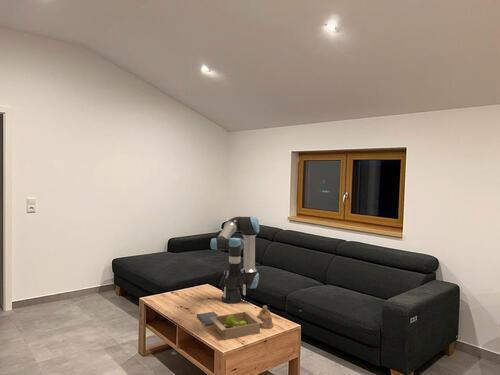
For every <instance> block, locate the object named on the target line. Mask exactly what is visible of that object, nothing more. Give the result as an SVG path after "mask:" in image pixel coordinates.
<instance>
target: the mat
mask: <svg viewBox="0 0 500 375" xmlns="http://www.w3.org/2000/svg"><path fill="white" fill-rule="evenodd" d="M216 316H218V315H217V313H216V312H214V311H210V312H203V313H197V314H196V318H198V319H199V320H200V322H201V323H202V324H203V325H204V327H210V326H212V327H213V321H212V320H211V319H210V317H216Z"/></svg>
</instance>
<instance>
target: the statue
mask: <svg viewBox="0 0 500 375" xmlns="http://www.w3.org/2000/svg"><path fill="white" fill-rule="evenodd" d="M256 317H257V318H258V319H260V320H261V321H262V322H263V323H261V324H260V329H265V330H269V329H273V328H274V327H275V326H274V322H273V319H272V318H273V317H272V314H271V312H270V310H269V309H268V306H267V305H265V304H264V305H262V309H261V310H260V311H259V314H258V315H256Z"/></svg>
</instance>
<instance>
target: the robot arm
mask: <svg viewBox="0 0 500 375" xmlns="http://www.w3.org/2000/svg"><path fill="white" fill-rule="evenodd" d="M258 219H259V218H257V217H255V216H235V217H232V218H230V219H228V220H227V221H226V222H225V223H224V225H223V229H222V230H221V231H220V233H219V235H218V236H217V237H214V238H211V240H210V243H209V244H210V249H211V250H214V251H215V250H216V251H217V250H218V251H228V270H224V271H223V274H222V277H221V279H220V281H219V284H218V286H219V287H221V292H222V295H221V302H223V303H225V304H238V303H241V301H242V295H243V296H246V291H247V289H256V288H257V287H258V285H259V281H260V280H259V278H260V273H259V272H258V270H257V268H256V237H257V236H258V234H259V233H260V223H259V220H258ZM234 233H241V236H242V237H243V238H239V237H232V235H233V234H234ZM242 250H243V268H242V269H241V265H242V263H241V254H242V253H241V252H242ZM240 288H242V295H241V291H240Z"/></svg>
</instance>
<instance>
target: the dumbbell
mask: <svg viewBox="0 0 500 375" xmlns="http://www.w3.org/2000/svg"><path fill="white" fill-rule="evenodd" d="M227 315H228V314H227ZM224 323H225V326H226V327H227V328H233V327H239V326H244V325H248V323H246V322H245V321H240V322H237V321H236V319H235V317H234V316H233V315H228V316H227V317H226V319H225V321H224Z"/></svg>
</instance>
